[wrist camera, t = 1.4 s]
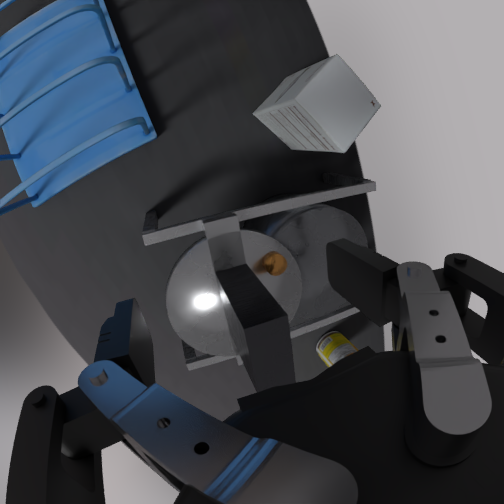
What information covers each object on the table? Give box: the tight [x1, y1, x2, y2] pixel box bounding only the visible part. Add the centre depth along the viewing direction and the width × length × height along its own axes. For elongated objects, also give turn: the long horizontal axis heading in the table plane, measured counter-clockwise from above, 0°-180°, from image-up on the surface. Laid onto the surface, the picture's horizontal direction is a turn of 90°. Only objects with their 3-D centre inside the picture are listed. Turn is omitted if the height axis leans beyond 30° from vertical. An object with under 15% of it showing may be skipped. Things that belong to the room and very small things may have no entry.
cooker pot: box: [142, 172, 376, 370], centre depth 35 cm, size 25×16×10 cm, turn 100°
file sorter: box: [0, 0, 157, 216], centre depth 19 cm, size 25×17×15 cm
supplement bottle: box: [316, 331, 359, 367], centre depth 46 cm, size 6×6×10 cm
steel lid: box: [166, 213, 302, 392], centre depth 25 cm, size 14×16×11 cm
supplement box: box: [253, 54, 381, 153], centre depth 30 cm, size 7×7×13 cm
